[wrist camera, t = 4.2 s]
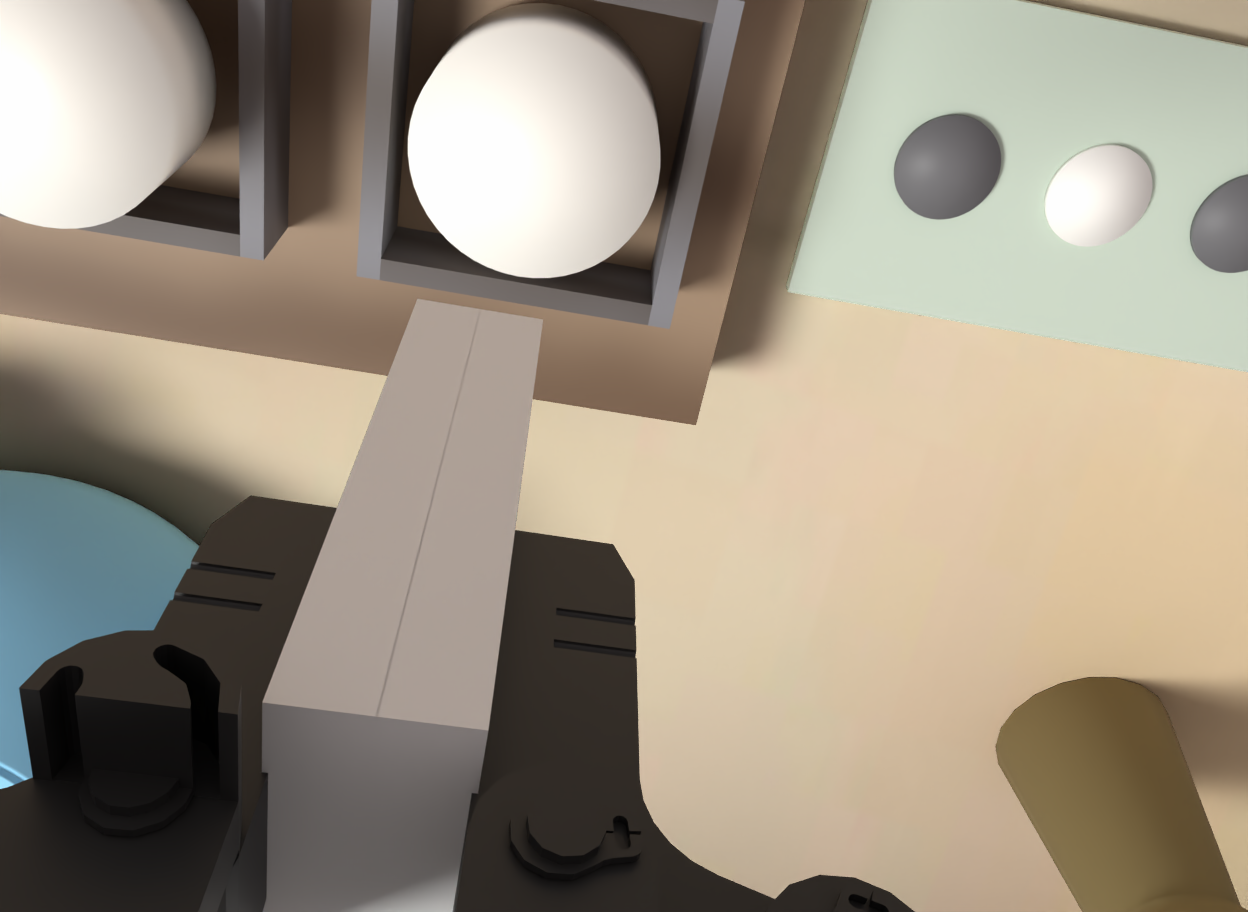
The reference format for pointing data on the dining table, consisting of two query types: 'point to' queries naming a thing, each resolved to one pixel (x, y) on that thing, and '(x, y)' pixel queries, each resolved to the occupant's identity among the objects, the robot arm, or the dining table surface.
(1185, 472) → the dining table surface
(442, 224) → the end button
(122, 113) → the middle button
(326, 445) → the dining table surface
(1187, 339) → the pattern card
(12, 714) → the teapot
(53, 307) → the button board
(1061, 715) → the olive game pawn
